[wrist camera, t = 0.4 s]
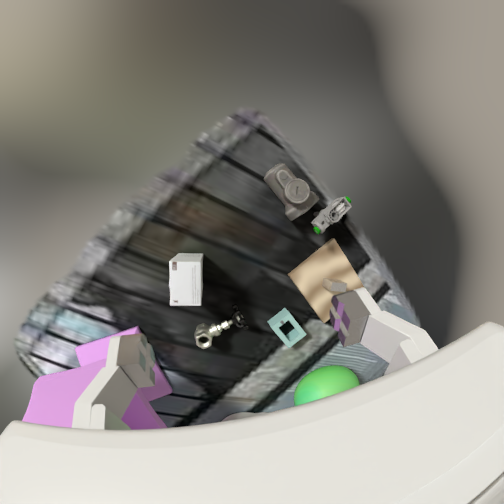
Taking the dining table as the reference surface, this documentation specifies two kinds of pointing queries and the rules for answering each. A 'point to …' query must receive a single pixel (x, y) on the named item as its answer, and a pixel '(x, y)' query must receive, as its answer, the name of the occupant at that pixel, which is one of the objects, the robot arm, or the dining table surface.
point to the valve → (217, 328)
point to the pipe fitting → (290, 191)
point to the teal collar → (290, 337)
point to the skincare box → (186, 279)
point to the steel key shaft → (334, 284)
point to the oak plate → (324, 266)
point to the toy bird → (324, 383)
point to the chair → (77, 380)
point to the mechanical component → (330, 214)
